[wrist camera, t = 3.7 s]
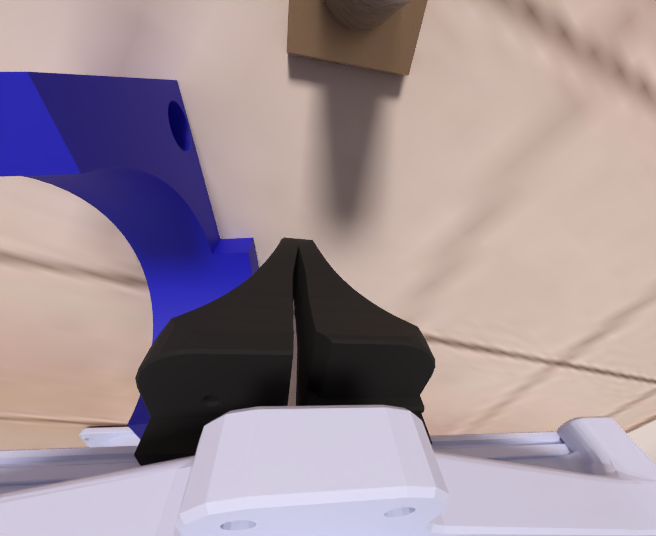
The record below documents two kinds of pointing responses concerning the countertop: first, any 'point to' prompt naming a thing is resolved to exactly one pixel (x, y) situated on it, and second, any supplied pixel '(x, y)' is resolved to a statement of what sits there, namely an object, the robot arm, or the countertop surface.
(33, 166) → the cable clip
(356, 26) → the post
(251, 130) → the countertop surface
